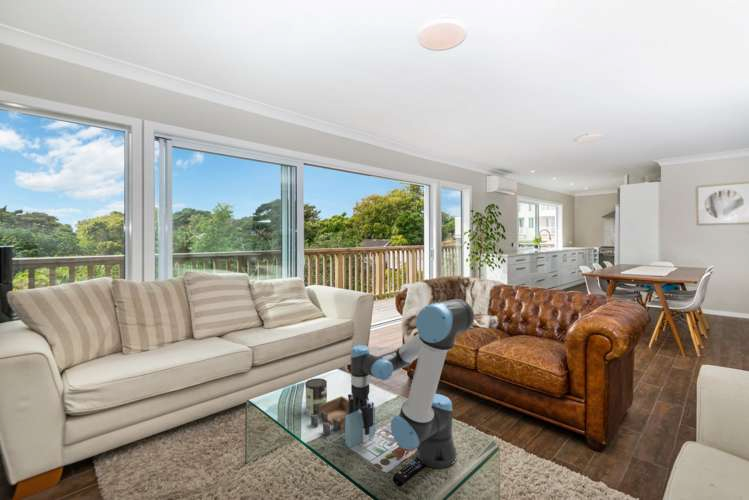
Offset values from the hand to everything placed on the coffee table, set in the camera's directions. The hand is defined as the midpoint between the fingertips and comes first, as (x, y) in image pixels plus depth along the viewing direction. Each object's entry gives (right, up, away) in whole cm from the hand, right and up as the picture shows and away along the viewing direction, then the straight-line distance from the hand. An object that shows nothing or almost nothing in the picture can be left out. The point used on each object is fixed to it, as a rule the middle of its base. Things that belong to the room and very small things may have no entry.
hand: (360, 438), depth 152 cm
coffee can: (-22, +1, +24) cm, 33 cm away
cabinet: (-11, 0, +14) cm, 18 cm away
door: (0, 0, 0) cm, 0 cm away
